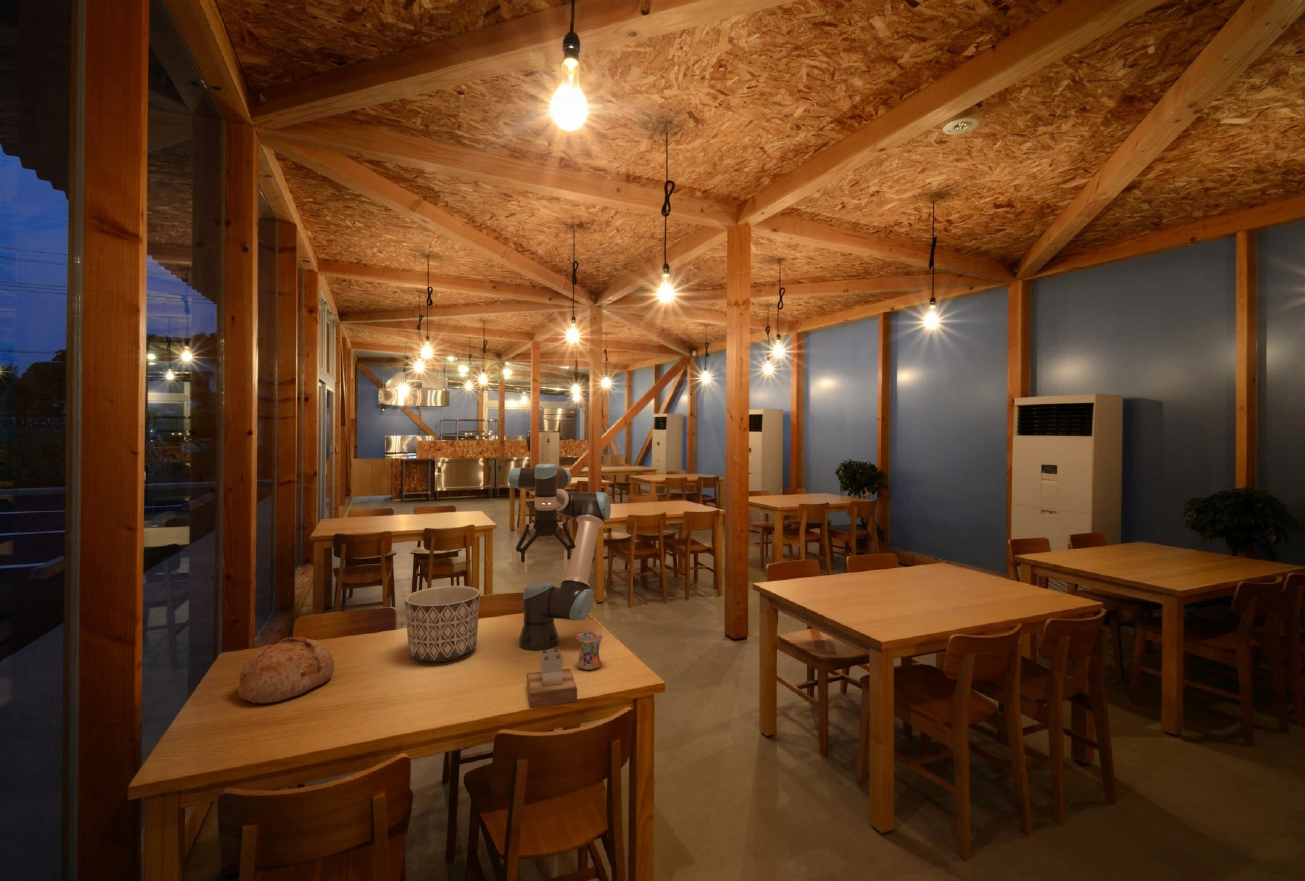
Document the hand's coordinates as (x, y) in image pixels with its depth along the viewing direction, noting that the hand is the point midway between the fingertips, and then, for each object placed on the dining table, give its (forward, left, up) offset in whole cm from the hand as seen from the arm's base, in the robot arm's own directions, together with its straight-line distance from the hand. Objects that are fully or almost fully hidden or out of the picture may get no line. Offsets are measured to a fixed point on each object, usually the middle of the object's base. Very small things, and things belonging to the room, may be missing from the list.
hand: (545, 570), depth 191 cm
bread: (-10, -81, -35) cm, 89 cm away
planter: (-25, -35, -35) cm, 55 cm away
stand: (+18, 0, -35) cm, 39 cm away
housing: (+18, 0, -30) cm, 35 cm away
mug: (0, +15, -35) cm, 38 cm away
